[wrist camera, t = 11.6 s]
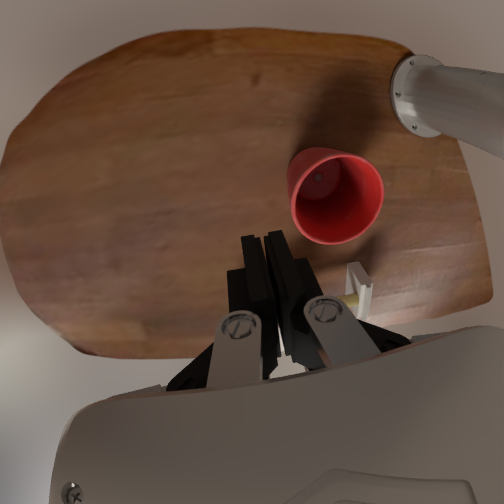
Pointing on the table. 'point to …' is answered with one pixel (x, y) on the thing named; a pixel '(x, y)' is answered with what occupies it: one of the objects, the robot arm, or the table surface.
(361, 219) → the flower pot
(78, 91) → the table surface
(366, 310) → the rail
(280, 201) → the table surface
